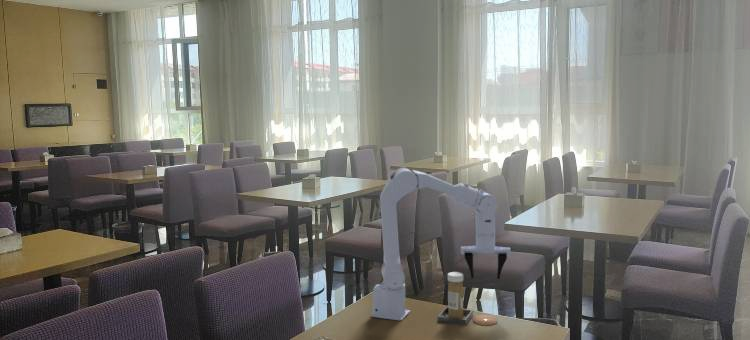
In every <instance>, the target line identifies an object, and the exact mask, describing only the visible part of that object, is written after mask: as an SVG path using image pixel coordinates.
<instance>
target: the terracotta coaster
mask: <svg viewBox="0 0 750 340" xmlns="http://www.w3.org/2000/svg"><path fill="white" fill-rule="evenodd" d="M472 322H473V323H474V324H477V325H481V326H493V325H496V324H497V323H498V318H497V316H494V315H490V314H477V315H473V316H472Z"/></svg>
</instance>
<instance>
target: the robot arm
mask: <svg viewBox="0 0 750 340" xmlns="http://www.w3.org/2000/svg"><path fill="white" fill-rule="evenodd" d="M416 188H417V189H418V190H421V189H424V188H429V189H432V190H434V191H437V192H440V193H444V194H446V195H448V196H450V197H451V200H452V202H454V203H457V204H460V205H463V206H465V207H468V208H470V209H475V214H476V215H475V245H468V246H467V245H466V246H465V245H464V246H463V245H462V246H460V255H464V259H465V261H466V263H467V266H468V269H469V272H470V278H471V279H474V277H475V275H474V274H475V273H474V271H475V270H474V255H497V273H496V275H497V277H496V278H497V280H500V279H501V275H502V270H503V267H504V266H505V263H506V262H507V259H508V256H511V247H509V246H508V247H505V246H496V212H497V210H498V208H499V204H498V201H497V199H496V197H495V196H493V195H492V194H490V193H487V192H486V191H484V189H481V188H480V189H476V188H474V187H472V186H470V184H469V183H467V182H463V183H461V182H459V183H457V184H452V183H449V182H447V181H444V180H442V179H440V178H438V177H435V176H433V175H430V174H428V173H426V172H421V171H419V170H415V169H412V170H410V168H407V167H399V168H397V169H396V170H395V171H394V172H392V173H391V174H390V175H389V178H388V180H387V182H386V183H385V185H384V187H383V188H382V191H381V192H380V195H379V203H380V216H381V217H380V218H381V231H382V232H381V233H382V247H383V248H382V249H383V264H382V266H381V270H380V272H381V276H382V278H383V281H382V282H381V283H380V284H377V283H376V285H375V286H374V287H373V289H372V314H371V317H372V318H379V319H386V320H393V321H394V320H395V321H403V320H404V319H405V318H406V316H408V315H409V314H410V312H411V310H409V309H406V283H405V281H406V274H405V273H404V272H403V269H402V263H401V257H400V255H401V254H400V244H399V243H400V242H399V227H398V226H399V224H398V211H397V202H399V201H400V200H401V199H402V198H403V197H404V196H406V195H407V194H410V193H412V192H413V191H414V190H416Z"/></svg>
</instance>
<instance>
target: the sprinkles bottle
mask: <svg viewBox="0 0 750 340" xmlns="http://www.w3.org/2000/svg"><path fill="white" fill-rule="evenodd" d="M463 282H464V273H462V272H459V271H452V272H448V273H447V285H448V288H447V302H448V303H447V307H448V311H449V312H447V313H448V315H447V317H452V318H459V319H464V314H463V309H464V292H463V291H464V286H463V285H464V284H463Z"/></svg>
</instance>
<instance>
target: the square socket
mask: <svg viewBox="0 0 750 340" xmlns="http://www.w3.org/2000/svg"><path fill="white" fill-rule="evenodd" d="M448 312H449V311H448V306H445V307H444V308H443V309H442V310H441V312H440V313H438V315H437V322H441V323H446V324H447V323H448V324H454V325H461V326H462V325H463V326H467V324H469V322H470V320H471V318H473V317H474V310H473V309H468V308H463V316H465V315H466V317H465V318H463V319H459V318H452V317H448V316H446V314H447V313H448Z"/></svg>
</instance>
